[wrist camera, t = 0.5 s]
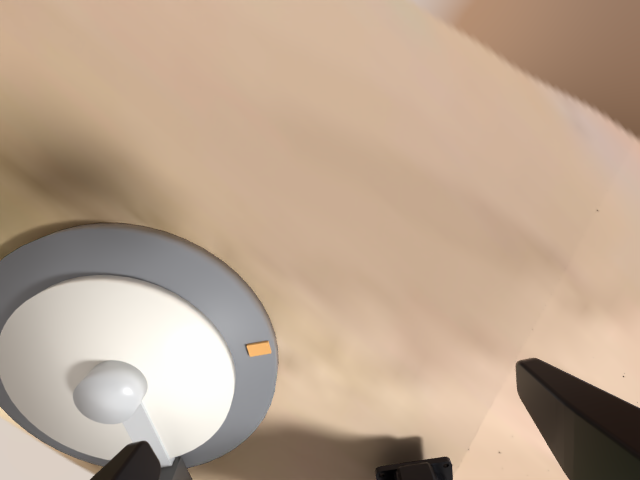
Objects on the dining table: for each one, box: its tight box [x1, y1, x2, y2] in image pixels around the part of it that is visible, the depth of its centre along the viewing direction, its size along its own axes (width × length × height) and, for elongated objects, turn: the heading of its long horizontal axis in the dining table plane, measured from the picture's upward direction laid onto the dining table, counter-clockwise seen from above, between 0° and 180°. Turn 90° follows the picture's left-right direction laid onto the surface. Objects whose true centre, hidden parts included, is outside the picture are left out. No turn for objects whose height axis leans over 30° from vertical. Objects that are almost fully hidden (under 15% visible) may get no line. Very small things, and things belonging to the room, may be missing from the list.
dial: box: [0, 275, 236, 480], centre depth 21 cm, size 20×16×6 cm
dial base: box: [0, 223, 278, 468], centre depth 24 cm, size 22×22×2 cm
